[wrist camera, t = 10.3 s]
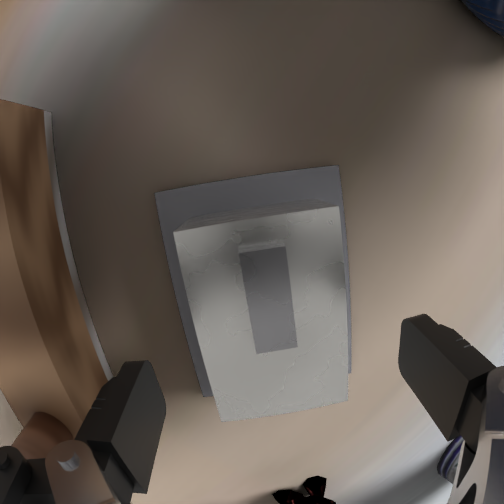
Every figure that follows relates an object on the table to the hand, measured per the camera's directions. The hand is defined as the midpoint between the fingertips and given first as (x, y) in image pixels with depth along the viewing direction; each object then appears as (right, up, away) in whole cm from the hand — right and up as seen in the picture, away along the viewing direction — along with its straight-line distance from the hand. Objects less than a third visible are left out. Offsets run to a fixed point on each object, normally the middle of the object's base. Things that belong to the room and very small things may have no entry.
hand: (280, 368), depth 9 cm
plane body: (-13, +1, +7) cm, 15 cm away
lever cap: (0, +1, +7) cm, 7 cm away
